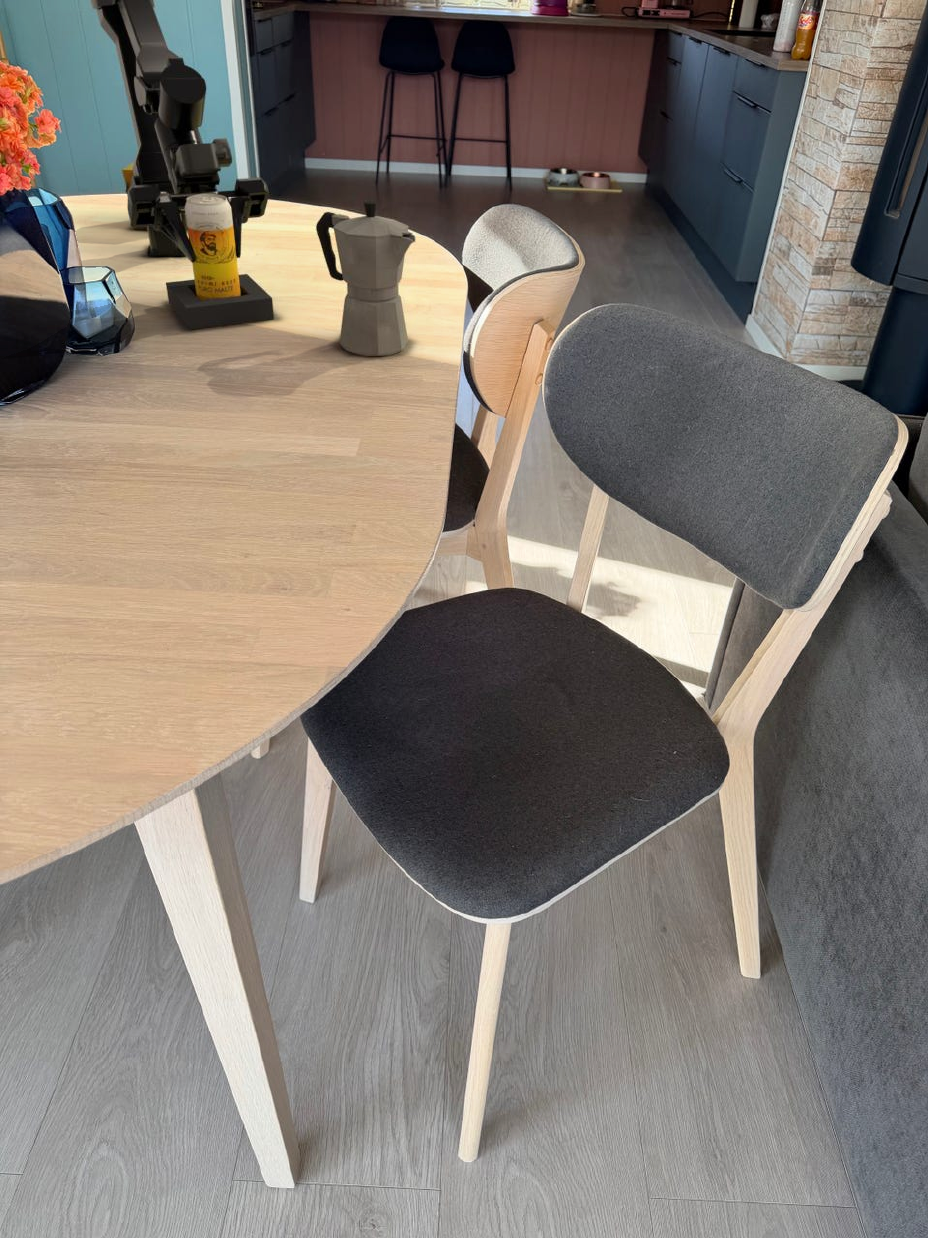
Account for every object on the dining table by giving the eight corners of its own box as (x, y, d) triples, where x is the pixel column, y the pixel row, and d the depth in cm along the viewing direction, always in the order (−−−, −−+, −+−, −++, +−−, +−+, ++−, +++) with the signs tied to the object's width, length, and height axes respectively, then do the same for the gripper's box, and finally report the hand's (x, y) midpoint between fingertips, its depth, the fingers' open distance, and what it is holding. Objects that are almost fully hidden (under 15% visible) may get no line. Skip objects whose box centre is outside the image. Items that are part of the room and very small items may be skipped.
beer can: (198, 318, 127) (182, 204, 117) (199, 303, 131) (184, 193, 122) (242, 317, 128) (229, 203, 118) (242, 302, 132) (230, 192, 123)
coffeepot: (434, 345, 121) (436, 202, 111) (392, 366, 115) (390, 216, 104) (345, 321, 128) (339, 183, 117) (301, 339, 121) (290, 195, 111)
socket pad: (168, 303, 131) (165, 282, 129) (249, 293, 136) (247, 273, 134) (189, 329, 123) (186, 307, 121) (274, 318, 127) (272, 297, 126)
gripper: (114, 117, 114) (149, 231, 113) (258, 112, 121) (291, 219, 120) (115, 172, 124) (146, 277, 123) (247, 164, 131) (277, 263, 130)
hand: (216, 258), depth 124 cm, fingers closed on beer can, 6 cm apart
